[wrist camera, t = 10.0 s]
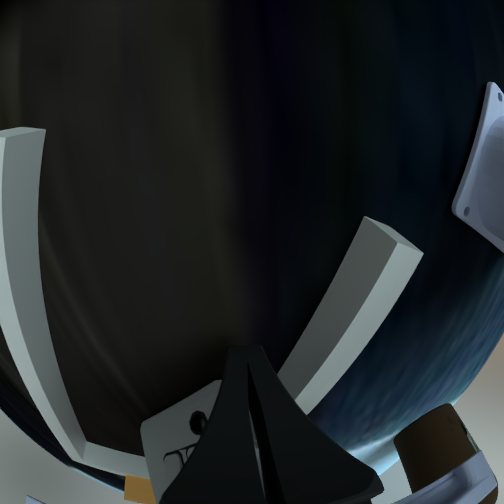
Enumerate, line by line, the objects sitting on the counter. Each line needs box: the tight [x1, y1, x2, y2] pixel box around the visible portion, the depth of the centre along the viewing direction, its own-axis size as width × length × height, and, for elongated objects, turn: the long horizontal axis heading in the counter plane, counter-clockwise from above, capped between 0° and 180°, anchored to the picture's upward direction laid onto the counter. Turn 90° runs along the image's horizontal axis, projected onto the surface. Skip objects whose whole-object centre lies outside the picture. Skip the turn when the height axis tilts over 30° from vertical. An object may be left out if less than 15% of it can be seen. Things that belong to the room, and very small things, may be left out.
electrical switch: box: [140, 380, 265, 504], centre depth 12 cm, size 9×5×9 cm, turn 133°
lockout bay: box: [0, 127, 424, 504], centre depth 12 cm, size 16×29×6 cm, turn 161°
